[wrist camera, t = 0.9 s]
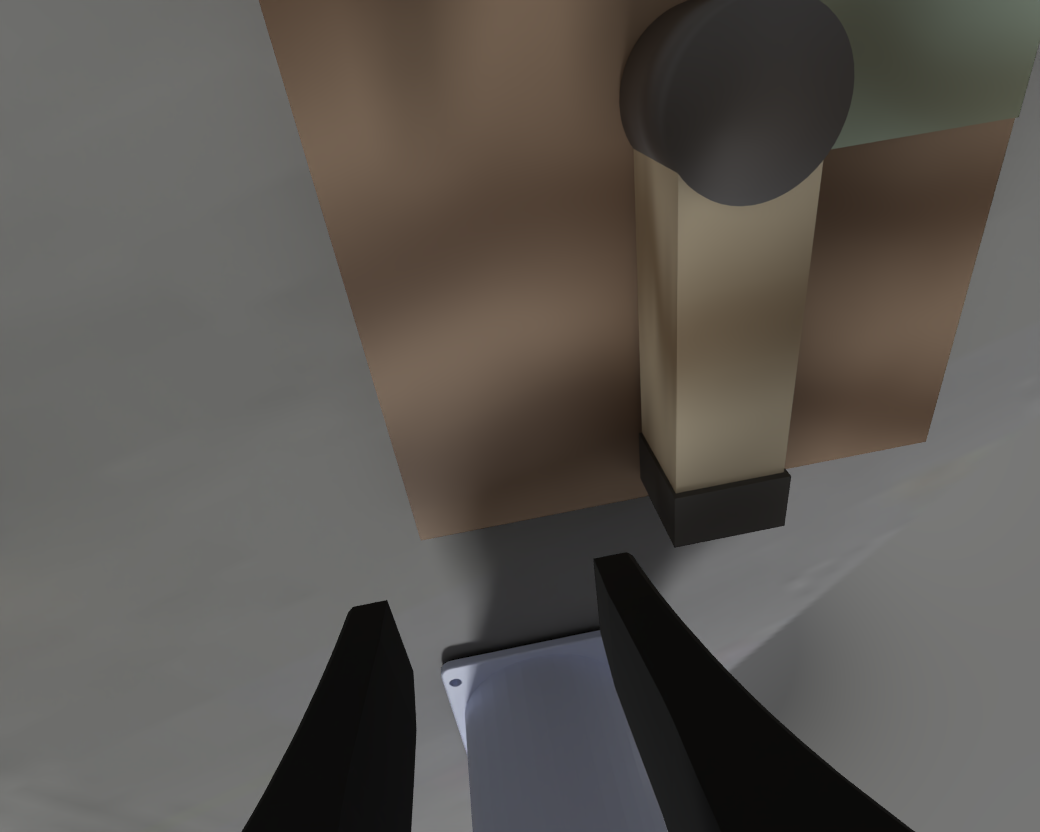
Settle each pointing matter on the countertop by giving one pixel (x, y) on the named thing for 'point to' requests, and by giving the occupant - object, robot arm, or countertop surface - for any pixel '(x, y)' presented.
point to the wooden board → (620, 230)
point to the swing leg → (727, 245)
